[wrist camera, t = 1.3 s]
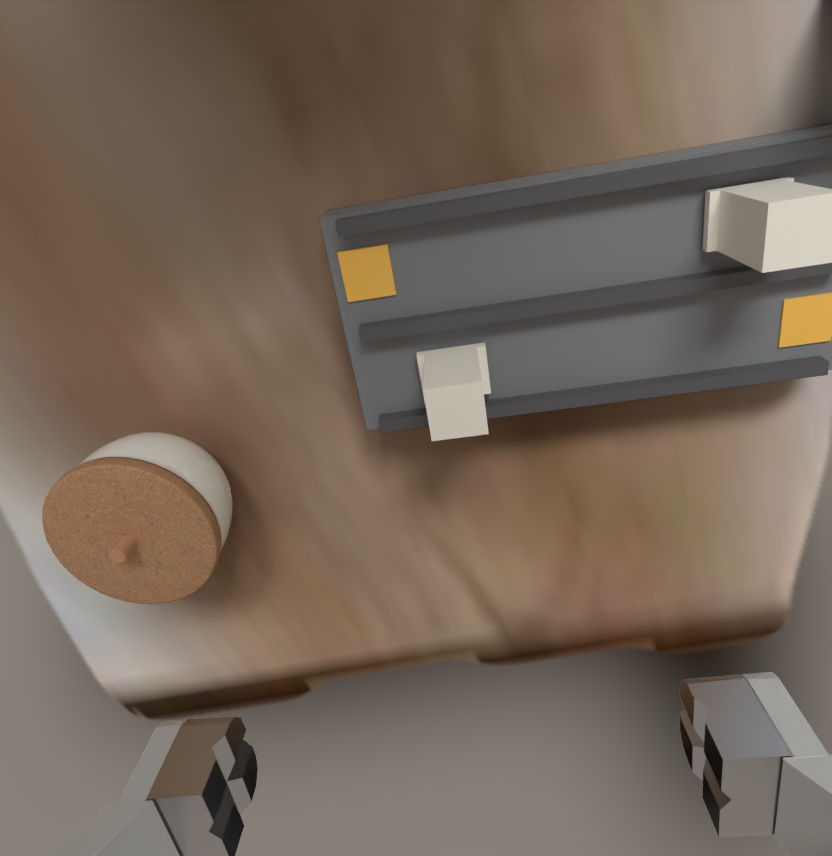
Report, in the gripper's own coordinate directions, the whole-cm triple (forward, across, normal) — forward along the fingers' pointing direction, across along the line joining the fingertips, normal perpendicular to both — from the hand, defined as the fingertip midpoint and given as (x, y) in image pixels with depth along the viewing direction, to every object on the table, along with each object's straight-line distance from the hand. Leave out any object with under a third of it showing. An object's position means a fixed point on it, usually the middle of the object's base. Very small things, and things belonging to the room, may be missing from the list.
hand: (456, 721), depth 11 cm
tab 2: (+26, -16, -4) cm, 31 cm away
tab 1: (+26, 0, +2) cm, 26 cm away
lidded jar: (+30, +21, +8) cm, 38 cm away
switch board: (+29, -8, -2) cm, 30 cm away
